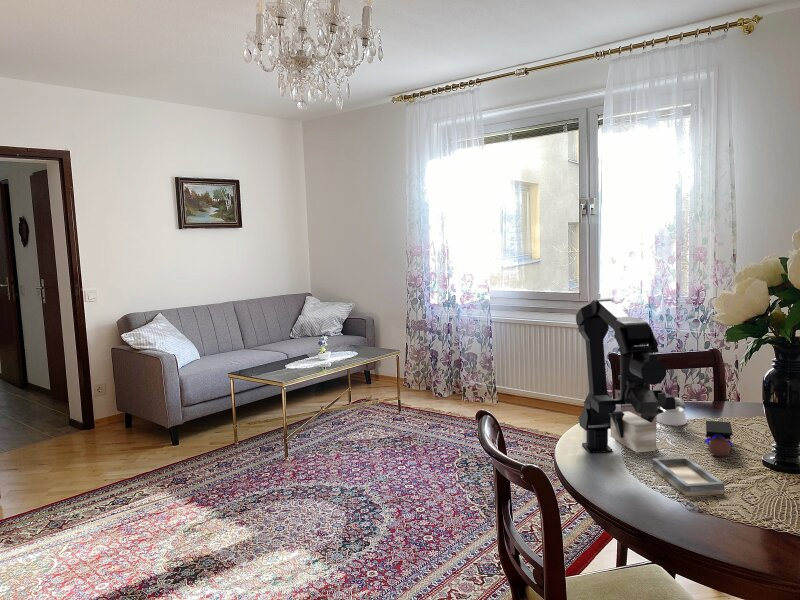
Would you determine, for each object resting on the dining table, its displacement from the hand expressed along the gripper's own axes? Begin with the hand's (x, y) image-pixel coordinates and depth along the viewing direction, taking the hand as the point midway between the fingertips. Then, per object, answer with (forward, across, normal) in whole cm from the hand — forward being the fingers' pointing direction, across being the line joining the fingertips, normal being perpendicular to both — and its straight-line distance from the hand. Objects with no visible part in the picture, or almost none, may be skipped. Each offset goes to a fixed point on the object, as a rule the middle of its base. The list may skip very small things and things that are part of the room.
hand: (632, 436), depth 141 cm
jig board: (+11, +13, -1) cm, 17 cm away
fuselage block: (+2, 0, 0) cm, 2 cm away
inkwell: (+12, +30, +36) cm, 49 cm away
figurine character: (+12, +32, +17) cm, 38 cm away
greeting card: (+12, +12, +25) cm, 30 cm away
